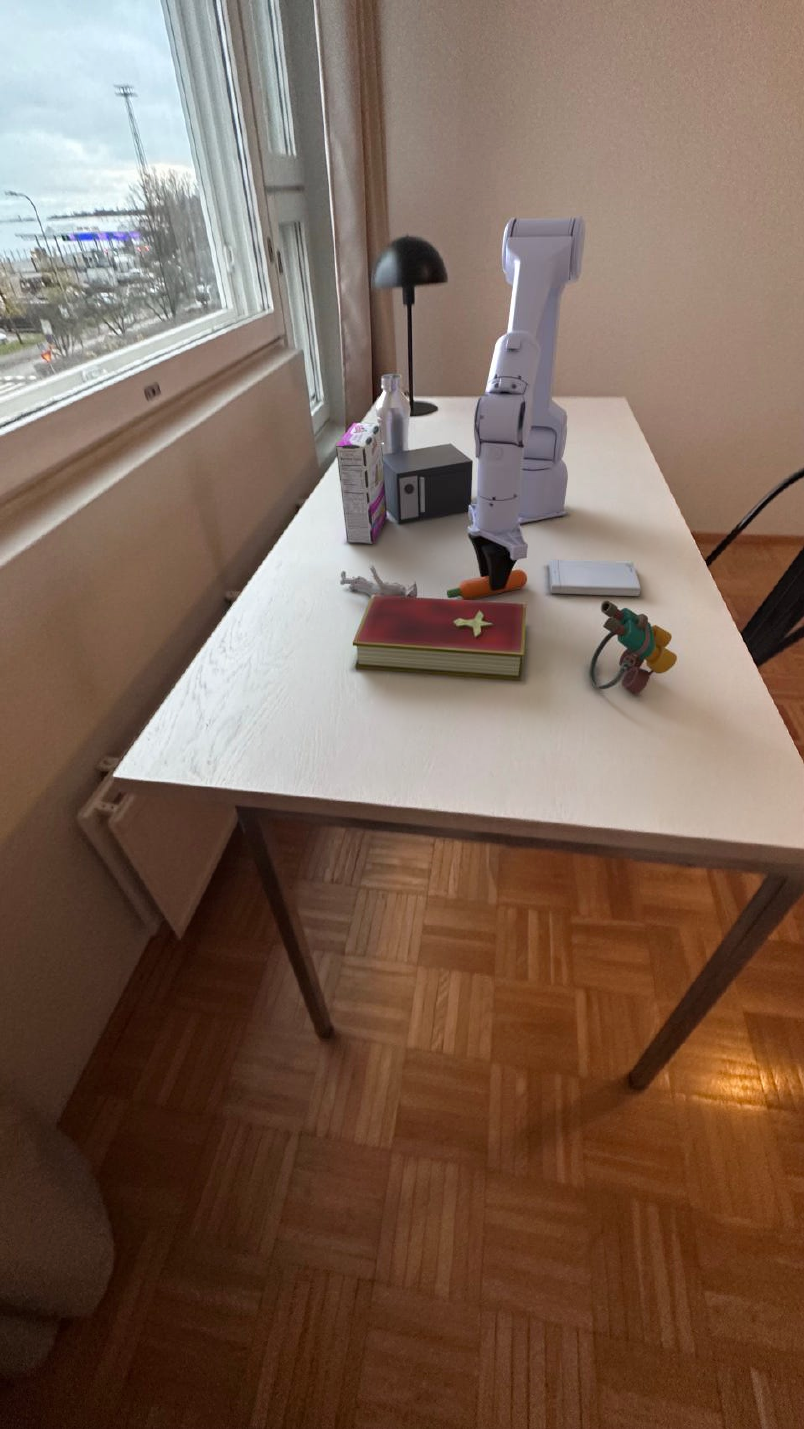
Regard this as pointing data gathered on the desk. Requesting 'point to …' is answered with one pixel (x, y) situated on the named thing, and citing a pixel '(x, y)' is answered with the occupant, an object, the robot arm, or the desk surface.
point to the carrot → (487, 586)
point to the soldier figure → (379, 586)
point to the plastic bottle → (393, 415)
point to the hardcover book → (442, 637)
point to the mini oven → (427, 483)
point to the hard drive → (593, 578)
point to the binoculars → (634, 648)
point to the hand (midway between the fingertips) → (492, 583)
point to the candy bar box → (362, 482)
